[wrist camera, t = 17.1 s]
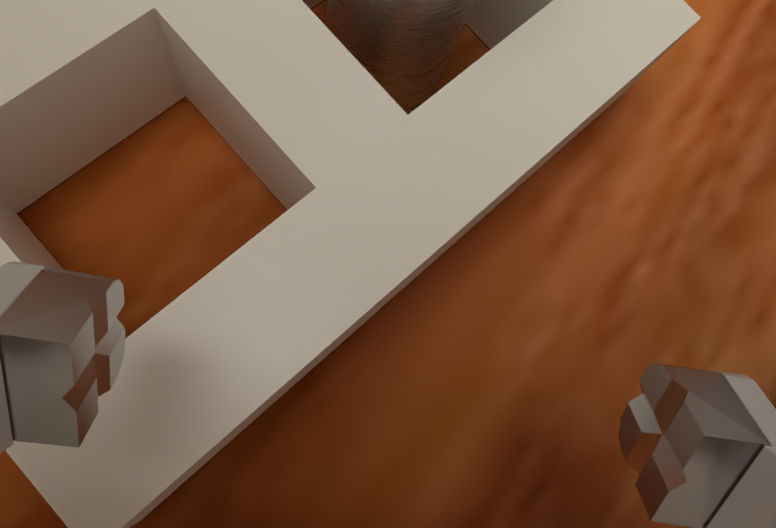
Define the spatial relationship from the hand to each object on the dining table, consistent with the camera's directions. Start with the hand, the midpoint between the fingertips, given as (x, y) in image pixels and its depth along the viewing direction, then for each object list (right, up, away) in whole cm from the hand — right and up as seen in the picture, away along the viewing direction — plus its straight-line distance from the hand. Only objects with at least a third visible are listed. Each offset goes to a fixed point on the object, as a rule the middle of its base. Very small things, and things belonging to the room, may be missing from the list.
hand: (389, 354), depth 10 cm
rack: (-3, +5, +10) cm, 12 cm away
